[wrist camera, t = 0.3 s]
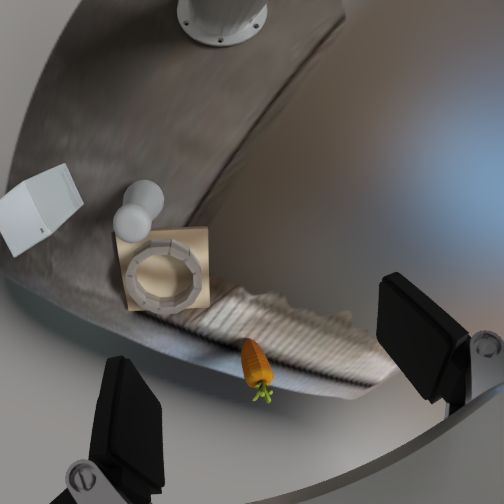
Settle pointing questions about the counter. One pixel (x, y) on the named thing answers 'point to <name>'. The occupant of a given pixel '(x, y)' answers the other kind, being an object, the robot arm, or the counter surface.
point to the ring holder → (166, 270)
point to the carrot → (256, 369)
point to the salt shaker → (138, 211)
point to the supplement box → (37, 208)
